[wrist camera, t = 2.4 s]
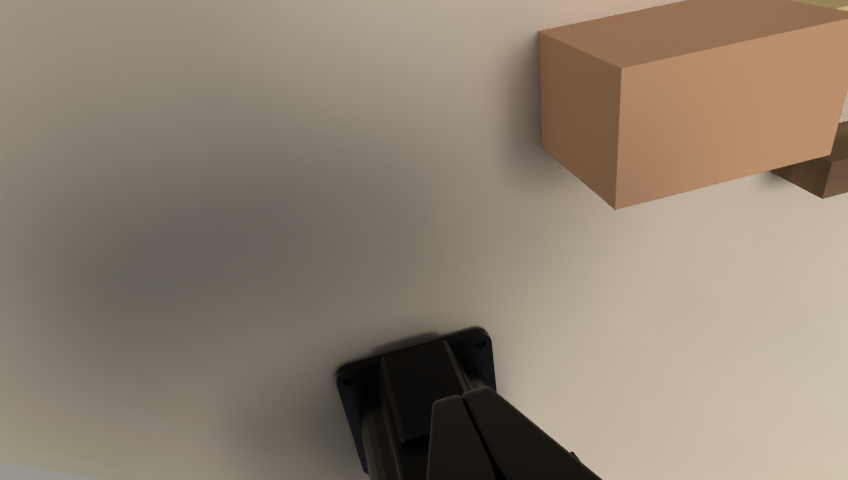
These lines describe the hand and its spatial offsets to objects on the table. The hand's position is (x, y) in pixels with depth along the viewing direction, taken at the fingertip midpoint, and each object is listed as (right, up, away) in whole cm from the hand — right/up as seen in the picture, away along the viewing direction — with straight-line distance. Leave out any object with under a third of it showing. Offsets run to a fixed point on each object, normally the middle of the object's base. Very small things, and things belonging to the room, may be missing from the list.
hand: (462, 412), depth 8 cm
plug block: (+7, +8, +12) cm, 16 cm away
